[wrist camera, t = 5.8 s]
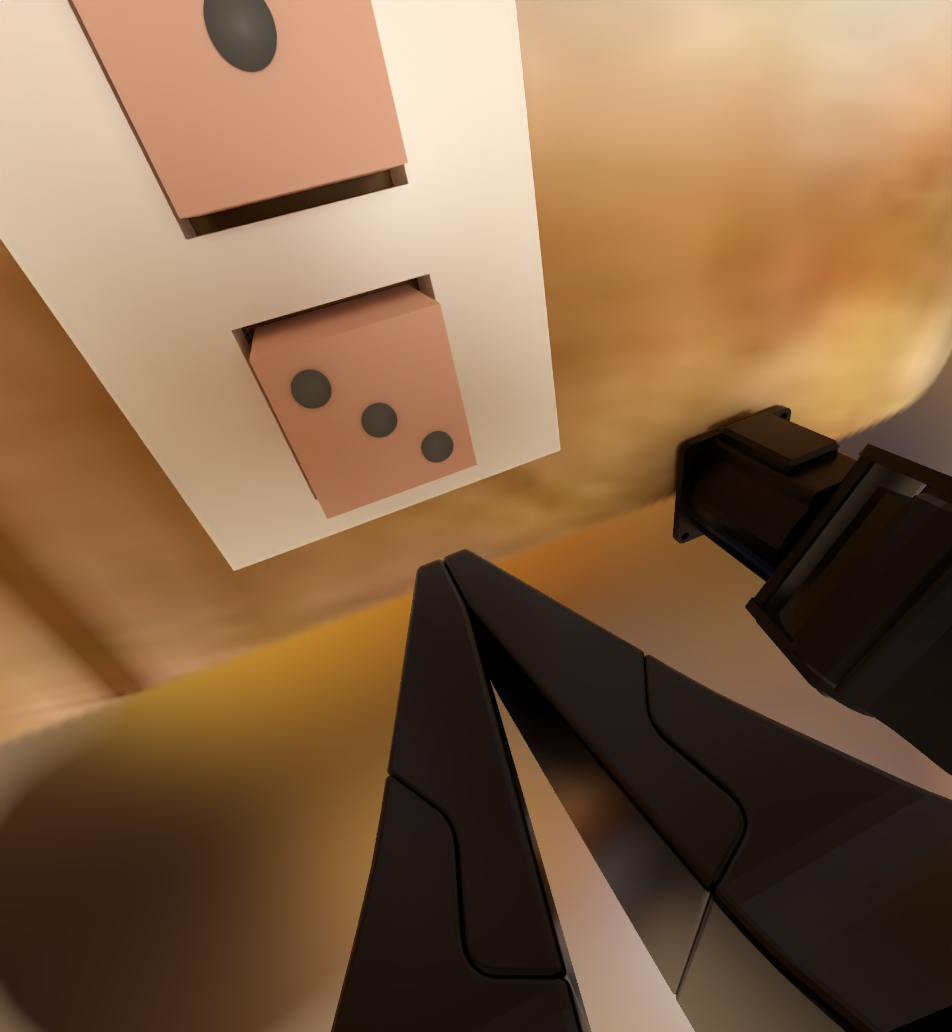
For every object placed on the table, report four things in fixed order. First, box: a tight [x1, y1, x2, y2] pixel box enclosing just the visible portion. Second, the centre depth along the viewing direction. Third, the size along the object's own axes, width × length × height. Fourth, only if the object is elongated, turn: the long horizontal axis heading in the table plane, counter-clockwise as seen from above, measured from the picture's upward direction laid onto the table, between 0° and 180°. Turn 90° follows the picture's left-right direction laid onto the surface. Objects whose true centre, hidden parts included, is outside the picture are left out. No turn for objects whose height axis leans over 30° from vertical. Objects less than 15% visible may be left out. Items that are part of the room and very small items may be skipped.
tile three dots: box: [249, 284, 477, 519], centre depth 15 cm, size 5×5×4 cm
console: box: [0, 0, 561, 571], centre depth 11 cm, size 25×13×2 cm, turn 14°
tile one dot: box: [72, 0, 408, 219], centre depth 10 cm, size 5×5×4 cm
